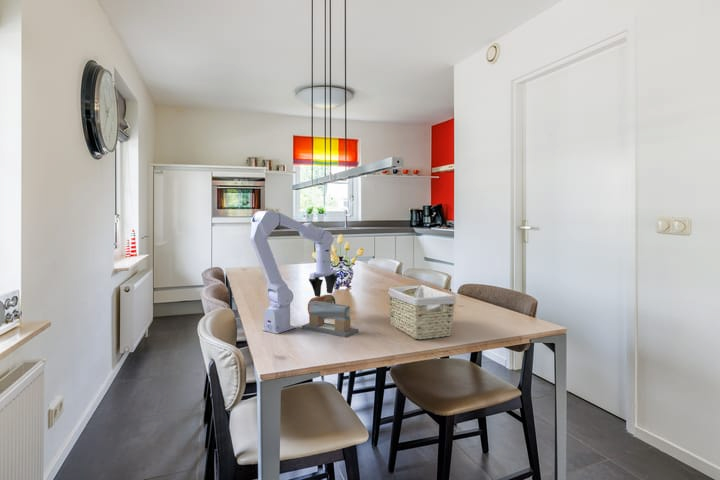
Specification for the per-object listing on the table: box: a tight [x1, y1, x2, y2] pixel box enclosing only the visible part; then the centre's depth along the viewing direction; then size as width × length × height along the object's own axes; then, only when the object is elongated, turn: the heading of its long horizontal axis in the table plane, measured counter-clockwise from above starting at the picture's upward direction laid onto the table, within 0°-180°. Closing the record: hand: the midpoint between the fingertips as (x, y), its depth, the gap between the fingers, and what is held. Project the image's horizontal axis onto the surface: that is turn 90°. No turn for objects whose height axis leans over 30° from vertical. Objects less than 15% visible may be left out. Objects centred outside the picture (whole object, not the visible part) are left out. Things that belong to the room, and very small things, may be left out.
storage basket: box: [387, 284, 457, 340], centre depth 145 cm, size 24×16×15 cm
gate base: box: [301, 314, 359, 338], centre depth 145 cm, size 8×20×5 cm, turn 56°
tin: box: [307, 294, 336, 316], centre depth 166 cm, size 15×3×8 cm, turn 143°
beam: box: [308, 301, 351, 321], centre depth 145 cm, size 4×16×4 cm, turn 56°
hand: (323, 294), depth 158 cm, fingers open, 7 cm apart
